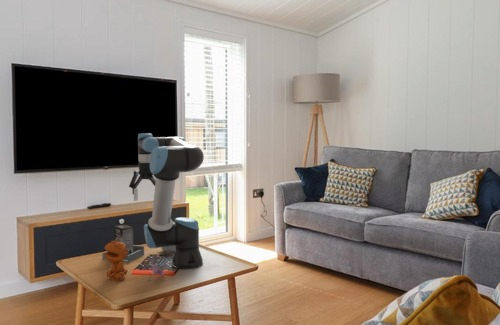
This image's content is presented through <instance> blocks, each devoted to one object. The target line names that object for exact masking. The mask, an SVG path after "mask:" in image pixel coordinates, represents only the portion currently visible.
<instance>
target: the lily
mask: <svg viewBox="0 0 500 325" xmlns="http://www.w3.org/2000/svg"><path fill="white" fill-rule="evenodd" d="M147 259H148V260H149V261H150V263H151V265H150V267H151V268H152V273H151V275H150V276H149V278H148V280H147V282H148V283H149V282H150V279H151V278H152V276H153V275H159V276H161V277H163V279H166V277H165V276H164V275H165V272H164V271H163V270H162V269H161V267H159V266H158V267H157V265H156V264H155V263H154V262H153V260H151V259H150V258H149V257H147Z"/></svg>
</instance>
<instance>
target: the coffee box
mask: <svg viewBox="0 0 500 325" xmlns="http://www.w3.org/2000/svg"><path fill="white" fill-rule="evenodd" d="M113 229H114V242H116V240H117V241H118V242H122V243H124V244H125V245H126V246H125V247H127V248H128V255H130V254H132V253H133V245H134V227H133V226H131V225H130V226H129V225H128V224H120V225H114V226H113ZM127 248H126V250H127ZM126 252H127V251H126ZM126 255H127V254H126ZM126 258H127V257H126ZM126 258H124V259H126Z"/></svg>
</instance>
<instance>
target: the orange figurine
mask: <svg viewBox="0 0 500 325" xmlns="http://www.w3.org/2000/svg"><path fill="white" fill-rule="evenodd" d="M125 246H126V245H125V244H124V243H122V242H118V241H117V240H116V242H115V240H111V242H108V243H107V244H106V245H105V246H104V249H105V252H106V251H107V253H104V252H102V253H103V254H104V257H105V259H107V260H106V261H107V262H109V263H111V264H110V265H111V266H110V269H109V270H107V271H106V272H105V274H106V278H107V279H109V280H110V281H114V282H115V281H116V282H118V281H122V280H123V279H125V276H127V275H128V270H129V269H128V268H125V266H124V262H122V261H124V258H126V257H127V255H128V248H127V247H125ZM126 248H127V250H126ZM109 251H110V252H109ZM126 251H127V252H126ZM112 252H114V253H112ZM126 254H127V255H126Z"/></svg>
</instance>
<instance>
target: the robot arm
mask: <svg viewBox="0 0 500 325" xmlns="http://www.w3.org/2000/svg"><path fill="white" fill-rule="evenodd" d="M137 135H138V136H137V147H138V148H137V149H138V150H137V151H138V155H137V156H138V170H134V171H133V176H132V178H131V180H130V182H129V186H128V187H129V188H131V189H132V195H133V201H134V202H136V201H139V196H138V195H139V191H138V190H139V189H138V186H139V185H140V183H141V182H142V181H143V180H149V181H151V182H150V183H152V185H153V186H154V194H153V205H152V213H151V215H152V217H151V216H150V218H149V219H148V223H145V224H144V225H143V233H144V239H145V244H146V246H147V247H148V249H158V248H161V247H167V246H175V252H173V257H172V260H171V265H172V264H173V265H174V266H176V267H178V268H177V269H181V270H190V269H197V268H199V267H201V266H202V265H203V263H204V262H203V260H204V259H203V256H202V253H201V251H200V238H199V235H200V234H199V233H200V228H199V222H198V221H199V220H196V219H195V218H190V217H176V218H174V220H173V219H172V218H171V217H172V211H173V210H172V209H173V201H174V194H175V186H176V185H175V184H176V181H177V180H178V179H179V178H180V174H181V173H187V172H188V173H189V172H193V171H195V170H198V169H199V167H200V166H202V164H203V163H204V159H205V158H204V157H205V155H204V153H203V150H202V149H201V148H200V147H198V146H196V145H195V144H194V145H193V144H188V143H187V142H186V140H185V138H184V137H182V136H167V137H166V136H160V137H159V136H156V137H155V136H153V134H152V133H149V132H148V133H138V134H137Z"/></svg>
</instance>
